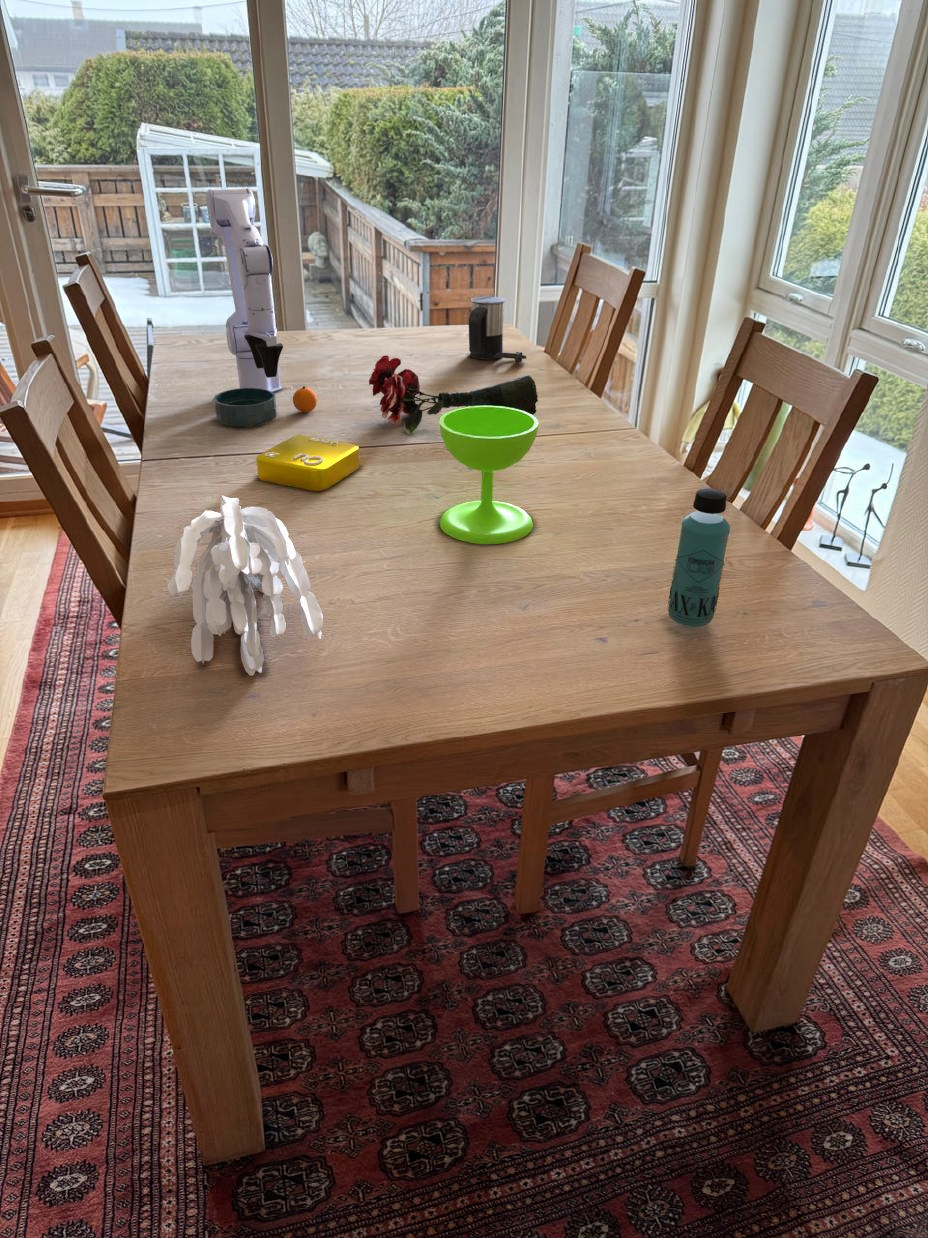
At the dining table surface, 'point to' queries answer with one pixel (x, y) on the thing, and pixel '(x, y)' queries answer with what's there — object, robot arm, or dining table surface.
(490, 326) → the milk frother
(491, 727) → the dining table surface
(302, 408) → the mandarin
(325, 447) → the element tile
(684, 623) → the beverage bottle
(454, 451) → the wineglass
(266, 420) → the bowl
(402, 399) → the carnation
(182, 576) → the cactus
